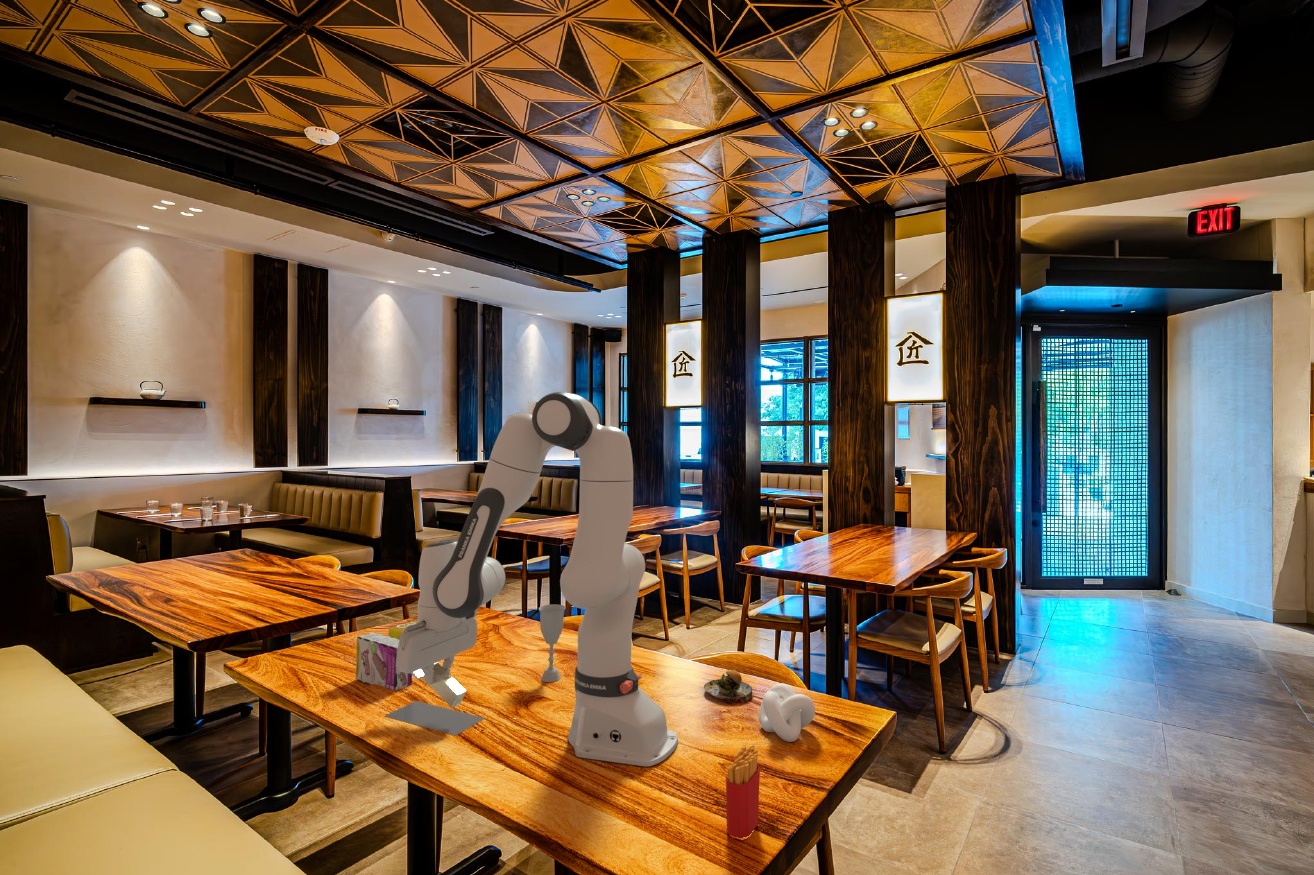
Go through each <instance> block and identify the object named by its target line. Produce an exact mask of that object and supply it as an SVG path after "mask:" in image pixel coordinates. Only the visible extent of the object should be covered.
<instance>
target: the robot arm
mask: <svg viewBox="0 0 1314 875" xmlns="http://www.w3.org/2000/svg"><path fill="white" fill-rule="evenodd" d="M602 424H603V421H602V415H601V413H600V410H599V409H598V407H597V406H596V405H595V404H594V403H593V402H592V401H590V400H588V399H586V398H584V397H582V396H581V395H578V394H576V393H570V392H565V391H555V392H551V393H548V394H546V395H544V396H543V397H541V398H540V399H539V400H538V402H537V403H536V404H535V405H534V407H533V410H532V413H525V412H524V413H523V412H520V413H515V414H512V415H510V416H509V417H508V418H507V419H506V420H505V421H504V424H503V425H502V427H501V429H500V431H499V433H498V435H497V438H496V439H495V442H494V444H493V448H492V449H491V450H492V451H491V453H490V456H489V459H488V462H487V465H486V467H485V468H486V469H485V472H484V475H483V478H482V481H481V484H480V487H479V489H478V491H477V494H476V496H475V499H474V502H473V504H472V505H471V508H470V510H469V512H468V514H467V517H466V518H465V519H466V520H465V522H464V525H463V526H462V530H461V532H460V534H459V535H460V536H459V537H458V540H457V539H445V540H440V541H436V542H433V543H430V544H427V545H426V546H424V548H423V549H422V552H421V555H420V560H419V568H418V587H419V597H418V601H417V619H416V620H417V623H416V624H414V625H409V626H407V627H406V628H405V630H404V631H403V632H402V633H401V635H400V640H399V644H398V650H397V657H396V668H397V669H398V670H399V671H400V672H404V673H413V672H415V671H417V670H420V669H421V670H422V671H423V673H424V675H425V680H424V683H425V685H428V686H430V685H431V684H433V683H435V682H436V676H437V675H436V674H433V672H432V670H431V669H433V664H434V663H436V662H438V663H439V662H441V661H443V662H442V665H441V666H442V667H443V668H444V669H445V670H446V671H447V672H448V673H449V674H450V675H451V668H452V665H453V664H454V661H455V655H458V654H460V653H463V652H465V651H467V650H470V649H473V648H474V646H475V645H476V643H477V640H478V639H477V637H478V621H477V619H476V617H477V615H478V609H479V608H480V607H481V606H483V605H485V604H487V603H488V602H489V601H491V600H492V599H494V598H495V597H497V596H498V595H500V593H501V592H502V591H503V589H504V587H505V585H506V580H507V578H506V571H505V569H504V567H503V565H502V564H501V562H500V561H499V560H498V559H496V558H494V557H491V556H488V555H489V552H490V549H491V547H492V544H493V542H494V540H495V536H496V534H497V533H498V530H499V528H500V527H501V526H502V524H503V523H504V522H505V521H506V519H508V518H509V517H510V516H511V515H512V514H513V513H514V512H516V511H517V510H518V509H520V508H522V506H524V505H525V504H526V503H527V502H528V501H530V498H531V497H532V494H533V492H534V490H536V487H537V484H538V483H539V479H540V475H541V472H542V470H543V466H544V463H545V460H546V457H547V455H548V453H549V452H550V451H551V449H553V448H554V447H560V448H563V449H565V450H568V451H572V452H576V454H577V455H578V459H579V470H580V471H579V502H578V503H579V504H578V505H579V506H578V507H579V508H578V510H579V511H578V520H577V527H576V530H575V535H574V539H573V544H572V548H571V551H570V556H569V558H568V561H567V563H566V565H565V566H564V569H563V570H562V572H561V575H560V579H559V583H560V584H559V585H560V586H559V587H560V591H561V594H562V595H563V597H564V599H565V600H566V601H567V602H568V603H569V604H570V605H571V606H572V607H575V608H578V609H581V610H585V611H584V615H583V617H582V619H581V622H580V623H579V626H578V630H577V656H576V658H577V664H576V667H575V670H574V671H575V672H574V689H575V690H574V691H575V703H574V710H573V717H572V721H571V726H570V729H569V733H568V734H567V740H568V742H569V744H570V745H571V746H572V747H573V748H574V756H576V757H578V758H583V759H590V760H597V761H604V762H611V763H618V764H623V765H624V764H626V765H631V766H632V765H633V766H639V767H651V766H654V765H658V764H660V763H661V762H662V761H664V760H666V759H667V758H669V756H670V755H672V754H673V752H674V750H675V749H676V748H677V747H678V743H679V741H678V740H679V738H678V734H677V732H676V731H674V730H671V729H669V728H668V725H667V719H666V714H665V711H664V709H663V708H662V707H661V706H660V705H659V704H658V703H657V702H655V700H653V699H652V697H650V696H649V695H648V694H647V693H646V692H645V691H644V690H643V689H642V688H641V687H640V686H639V681H640V680H641V679H642V678H643V676H642V675H643V672H642V671H640V672H639V673H638V674H637V673H636V672H635V670H634V667H633V666H632V634H633V633H632V632H633V623H634V618H635V613H636V607H637V603H638V597H639V590H640V586H641V582H642V579H643V577H644V574H645V571H646V561H645V557H644V556H643V554H642V552H641V551H640V550H639V549H638V548H637V547H635V546H634V545H632V544H628V543H626V538H627V535H628V531H629V527H630V525H631V523H632V521H633V516H634V463H633V453H632V447H631V446H632V445H631V442H630V438H629V436H628V434H627V433H626V432H625V431H624V430H623V429H620V428H619V427H615V426H612V425H611V426H609V425H602ZM406 631H407V632H406Z"/></svg>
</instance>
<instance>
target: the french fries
mask: <svg viewBox="0 0 1314 875" xmlns="http://www.w3.org/2000/svg"><path fill="white" fill-rule="evenodd" d="M755 747H756V746H755V744H753V745H750V746H749V747H747V745H742V747H741V750H740V751H738V752H736V753H735V754H734V756H733V763H732V764H730V765H729V766H728V767H727V776H725V794H726V796H725V798H726V802H725V803H726V808H725V810H726V832H727V831H728V833H729V835H732V836H734V837H738V838H743V837H747V836H749V835H750V834H751V833H752V831H753V830H754V829H755V827H756V826H757V823H758V824H759V803H760V801H759V798H760V780H761V779H760V778H761V777H760V776H761V775H760V774H761V773H760V772H761V771H760V770H761V767H760V765H759V763H758V755H759V754H758V753H759V752H758V751H759V750H758V749H756V748H755ZM757 827H758V826H757ZM755 830H756V829H755ZM728 833H727V834H728ZM729 835H728V836H729Z"/></svg>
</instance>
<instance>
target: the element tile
mask: <svg viewBox="0 0 1314 875" xmlns="http://www.w3.org/2000/svg"><path fill="white" fill-rule="evenodd" d="M416 623H417V619H414V620H411V621H408V622H404V623H402V624H398V625H395V626H392V627H389V628H388V636H389V637H392V638H396V639H399V640H400V635H401V633H402V632H403V631H404V630H405V628H406V627H407V626H409V625H414V624H416ZM406 632H407V631H406Z"/></svg>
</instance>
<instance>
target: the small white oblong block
mask: <svg viewBox="0 0 1314 875" xmlns="http://www.w3.org/2000/svg"><path fill="white" fill-rule="evenodd" d="M431 670H432V672H433V674H436V675H437V676H436V682H435V683H433V684H431V685H429V686H430V688H432V690H433V691H435V693H437V695H438V696H439V697H440V698H441V699H442V700H443V701H444V702H445V703H446V704H447V705H448V706H449V707H450V709H453V708H455V707H457V706H459V705H461V703H462V701H463V699H464V697H465V695H466V692H467V690H466V688H464V687H463V686H462V685H461V684H460V683H459V682H458V681H457V680H456V679H455V678H454V677H453V676H452V675H451V673H450V674H449V673H448V672H447V671H446V670H445V669H444V668H443V667H442V665H441V664H440V663H439V662H436V663H434V664H433V669H431ZM411 674H412V677H414V678H415V679H416V680H421V679H423V680H424V681H425V675H424V673H423V671H422V670H421V669H420V670H417V671H415V672H413V673H411Z"/></svg>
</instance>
